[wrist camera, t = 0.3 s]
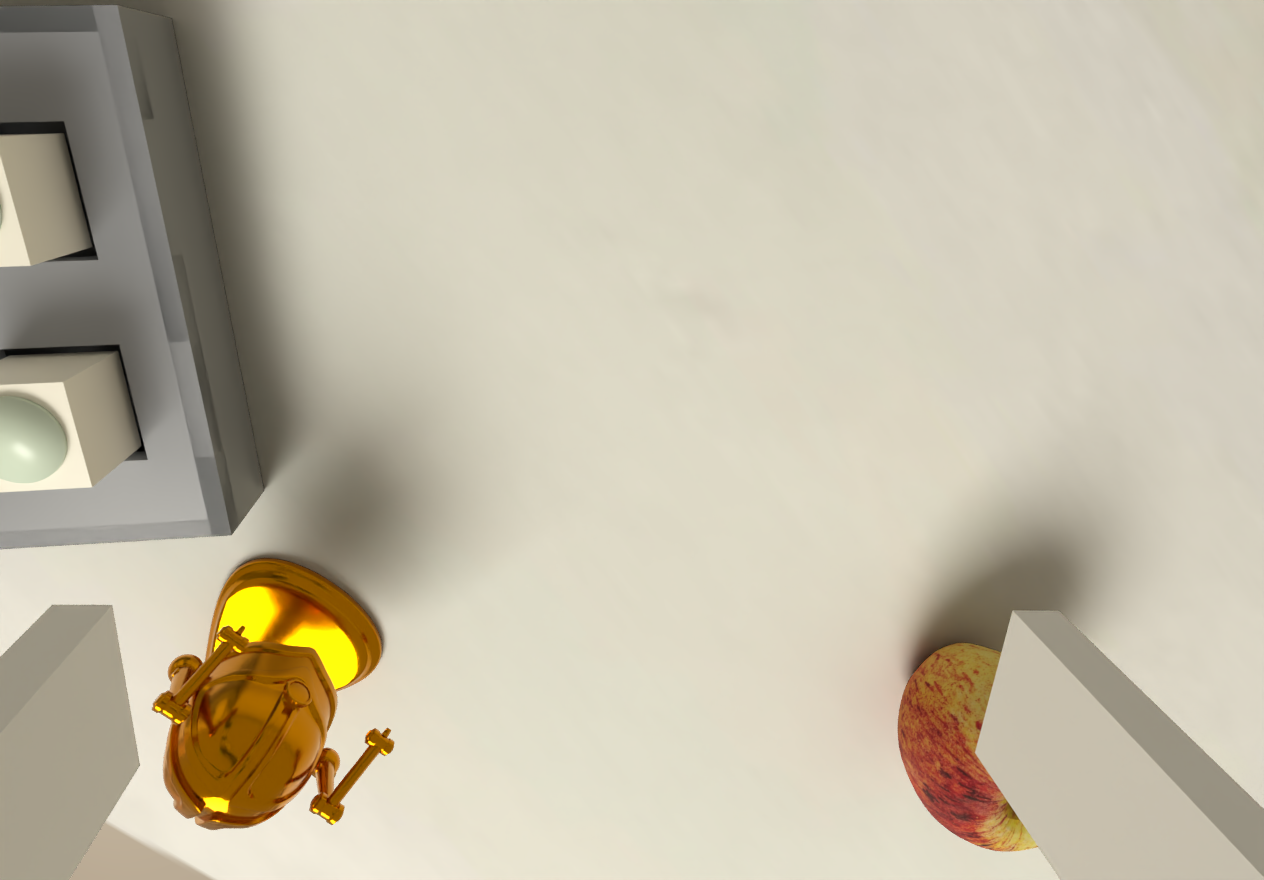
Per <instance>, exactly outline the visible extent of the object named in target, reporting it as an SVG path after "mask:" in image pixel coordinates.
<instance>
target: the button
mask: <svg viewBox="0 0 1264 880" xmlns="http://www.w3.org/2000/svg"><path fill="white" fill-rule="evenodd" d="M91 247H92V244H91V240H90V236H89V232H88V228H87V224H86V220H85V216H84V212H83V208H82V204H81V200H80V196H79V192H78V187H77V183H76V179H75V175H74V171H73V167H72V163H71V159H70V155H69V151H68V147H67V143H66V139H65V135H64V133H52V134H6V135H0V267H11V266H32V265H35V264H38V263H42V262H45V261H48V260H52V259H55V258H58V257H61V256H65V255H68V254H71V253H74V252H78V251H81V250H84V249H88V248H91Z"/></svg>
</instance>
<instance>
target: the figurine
mask: <svg viewBox="0 0 1264 880" xmlns="http://www.w3.org/2000/svg"><path fill="white" fill-rule="evenodd" d="M381 654H382V641H381V637H380V634H379V632H378V630H377V628H376V626H375V624H374V623H373V621H372V619H371V618H370V617H369V615H368V614H367V613H366V612H365V611H364V609H363V608H362V607H361V606H360V605H359V604H358V603H357V602H356V601H355V600H354V599H353V598H352V597H351V596H349V595H348V594H347V593H346V592H345V591H343V590H342V589H341V588H339V587H338V586H337V585H335V584H334V583H332V582H331V581H329V580H328V579H326V578H325V577H323V576H321V575H319V574H318V573H316V572H314V571H312V570H310V569H308V568H305V567H303V566H301V565H298V564H295V563H292V562H289V561H285V560H280V559H273V558H261V559H254V560H251V561H248V562H246V563H244V564H242V565H241V566H240V567H238V568H237V569H236V570H235V571H234V572H233V573H232V574H231V575H230V577H229V578H228V580H227V581H226V583H225V585H224V587H223V589H222V591H221V593H220V596H219V598H218V601H217V604H216V608H215V611H214V615H213V619H212V624H211V629H210V634H209V639H208V645H207V652H206V658H205V662H204V663H202V661H201V660H200V659H199V658H198V657H196V656H194V655H191V654H185V655H181V656H179V657H177V658H175V659H174V660H173V661H172V663H171V664H170V666H169V668H168V677H169V680H170V681H171V686H170V690H169V691H166V692H165V693H161V694H160V695H159V696H158V697H157V699H156V700H155V701H154V703H153V707H152V710H153V711H155V712H156V713H158V712H159V713H160V714H162V715H163V716H165V717H167V718H168V719H170V720H171V722H172V723H171V725H170V729H169V732H168V737H167V743H166V749H165V754H164V760H163V778H164V783H165V786H166V788H167V790H168V792H169V794H170V795H171V796H172V798H173V799H174V802H173V804H174V808H175V809H176V810H177V811H178V812H179V813H180V814H181V815H183V816H184V817H185V818H188V819H189V818H193V817H195V823H196V824H197V825H199V826H201V827H203V828H206V829H209V830H217V829H223V828H249V827H253V826H256V825H258V824H260V823H262V822H264V821H266V820H268V819H270V818H271V817H273V816H274V815H275V814H277V813H278V812H279V811H280V810H281V809H282V808H283V807H284V806H285V805H286V804H287V803H289V802H290V801H291V800H292V799H294V798H295V797H296V796H297V795H298V794H299V792H300V791H301V790H302V789H303V787H304V786H305V785H306V783H307V781H308V780H309V778H310V776H311V775H313V776H314V777H315V778H316V781H317V788H318V795H316V796H315V797H314V798H313V800H312V801H311V804H310V808H309V811H310V812H312V813H313V814H317V815H319V816H320V817H322V818H324V819H325V820H326V822H327V823H329V824H330V825H333V824H334V823H336V822H337V821H339V820H340V818H341V817H342V815H343V811H344V805H342V804H341V803H340V802H341V801H342V799H343V798H344V797H345V795H346V794H347V793H348V792H349V790H350V789H351V788H352V787H353V785H354V784H355V783H356V781H357V780H358V779H359V778H360V776H361V775H362V774H363V773H364V771H365V770H366V769H367V767H368V766H369V765H370V764H371V762H372V761H373V760H374V759H375V757H376V756H377V755H378V754H379V753H381V754H382V755H383V756H385V755H387V754H389V753H390V752H391V751H392V750H393V748H394V741H393V740H391V739H390V738H389V739H388V738H387V737H388V735H389V734H390V732H391V730H390V729H389V728H387V729H386V730H385V731H384V732H383V733H382V734H381V733H380V731H379V730H377V729H376V728H375V729H373V730H370V731H369V732H368V733H367V735H366V737H365V743H366V744H368V745H369V747H368V748H367V749H366V751H365V752H364V753H363V755H362V756H361V757H360V758H359V760H358V761H357V762H356V763H355V765H354V766H353V767H352V768H351V770H350V771H349V772H348V773H347V775H346V776H345V777H344V778H343V780H342V781H341V782H340V783H339V785H338V786H337V787H336V788H335V790H334V777H335V775H336V772H337V770H338V769H339V766H340V758H339V755H338V753H337V752H336V751H335V750H333V749H331V748H324V745H325V742H326V738H327V732H328V730H329V728H330V726H331V724H332V721H333V719H334V716H335V713H336V710H337V693H336V692H337V691H340V690H342V689H345V688H347V687H350V686H352V685H354V684H356V683H358V682H360V681H361V680H363V679H364V678H366V677H367V676H368V675H369V674H370V673H372V671H373V670H374V669H375V668H376V666H377V665H378V663H379V661H380V658H381Z"/></svg>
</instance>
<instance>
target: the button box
mask: <svg viewBox="0 0 1264 880" xmlns="http://www.w3.org/2000/svg"><path fill="white" fill-rule="evenodd" d="M52 133H64V135H65V139H66V143H67V147H68V151H69V155H70V159H71V163H72V167H73V171H74V175H75V179H76V183H77V187H78V192H79V196H80V200H81V204H82V208H83V212H84V216H85V220H86V224H87V228H88V232H89V236H90V240H91V244H92V247H91V248H88V249H84V250H81V251H78V252H74V253H71V254H68V255H65V256H61V257H58V258H55V259H52V260H48V261H45V262H42V263H38V264H35V265H32V266H11V267H0V360H1V359H3V358H5V357H8V356H10V355H31V354H55V353H78V352H102V351H118V352H119V356H120V360H121V365H122V369H123V373H124V377H125V381H126V385H127V389H128V393H129V397H130V401H131V405H132V409H133V413H134V417H135V421H136V425H137V429H138V433H139V437H140V441H141V445H142V446H141V447H140V448H138V449H137V450H136V451H135V452H134V453H133V454H131V455H130V456H129V457H128V458H127V459H125V460H124V461H123V462H122V463H121V464H119V465H118V466H117V467H116V468H115V469H113V470H112V471H111V472H110V473H109V474H107V475H106V476H105V477H104V478H103V479H101V480H100V481H99V482H98V483H97V484H96V485H94V486H93V487H90V488H72V489H53V490H35V491H17V492H0V549H13V548H29V547H46V546H62V545H79V544H95V543H112V542H128V541H144V540H161V539H177V538H194V537H210V536H227V535H232V534H233V533H234V531H235V530H236V528H237V527H238V526H239V524H240V523H241V522H242V520H243V519H244V518H245V516H246V515H247V513H248V512H249V511H250V509H251V508H252V507H253V505H254V504H255V502H256V501H257V500H258V498H259V497H260V496H261V494H262V493H263V492H264V488H263V482H262V477H261V472H260V467H259V462H258V457H257V452H256V447H255V442H254V436H253V431H252V426H251V421H250V416H249V411H248V406H247V401H246V396H245V390H244V385H243V380H242V375H241V370H240V365H239V360H238V355H237V350H236V344H235V339H234V334H233V329H232V324H231V319H230V314H229V309H228V304H227V298H226V293H225V288H224V283H223V278H222V273H221V268H220V263H219V258H218V253H217V247H216V242H215V237H214V232H213V227H212V222H211V217H210V212H209V207H208V201H207V196H206V191H205V186H204V181H203V176H202V171H201V166H200V161H199V155H198V150H197V145H196V140H195V135H194V130H193V125H192V120H191V115H190V109H189V104H188V99H187V94H186V89H185V84H184V79H183V74H182V69H181V63H180V58H179V53H178V48H177V43H176V38H175V33H174V28H173V23H172V18H168V17H164V16H160V15H156V14H152V13H148V12H144V11H140V10H136V9H132V8H128V7H124V6H120V5H57V6H0V135H6V134H52Z"/></svg>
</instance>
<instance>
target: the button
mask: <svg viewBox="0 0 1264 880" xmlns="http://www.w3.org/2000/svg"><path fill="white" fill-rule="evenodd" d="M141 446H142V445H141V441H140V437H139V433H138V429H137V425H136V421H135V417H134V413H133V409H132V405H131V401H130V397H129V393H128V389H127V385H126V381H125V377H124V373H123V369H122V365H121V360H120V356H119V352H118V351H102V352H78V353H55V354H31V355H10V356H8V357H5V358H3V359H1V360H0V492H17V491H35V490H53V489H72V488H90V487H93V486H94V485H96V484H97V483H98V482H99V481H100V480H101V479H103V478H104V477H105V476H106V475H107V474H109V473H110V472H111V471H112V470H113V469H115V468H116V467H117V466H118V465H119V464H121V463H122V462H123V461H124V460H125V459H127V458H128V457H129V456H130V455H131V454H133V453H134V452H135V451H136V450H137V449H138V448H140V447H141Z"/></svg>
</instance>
